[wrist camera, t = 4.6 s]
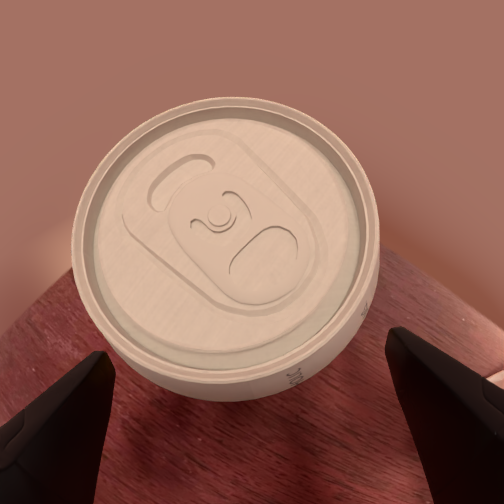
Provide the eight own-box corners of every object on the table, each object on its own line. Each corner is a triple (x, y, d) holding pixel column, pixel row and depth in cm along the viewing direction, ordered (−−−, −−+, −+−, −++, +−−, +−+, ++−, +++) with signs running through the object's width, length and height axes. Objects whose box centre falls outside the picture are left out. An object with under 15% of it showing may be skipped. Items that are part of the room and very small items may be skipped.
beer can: (252, 257, 20) (227, 54, 6) (321, 321, 19) (457, 211, 5) (185, 322, 19) (16, 221, 5) (252, 391, 17) (209, 489, 3)
